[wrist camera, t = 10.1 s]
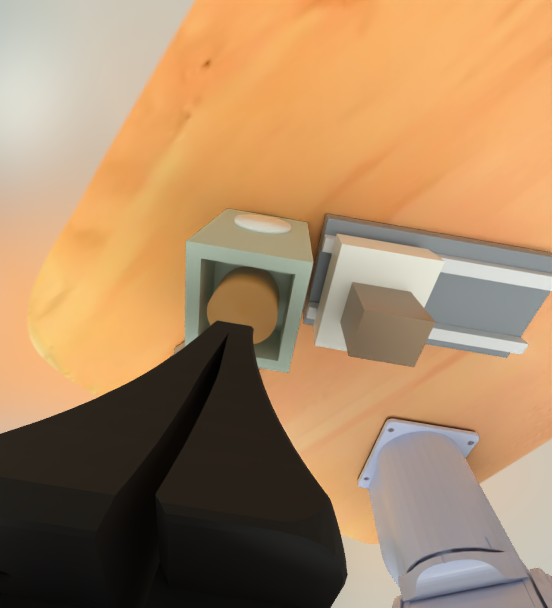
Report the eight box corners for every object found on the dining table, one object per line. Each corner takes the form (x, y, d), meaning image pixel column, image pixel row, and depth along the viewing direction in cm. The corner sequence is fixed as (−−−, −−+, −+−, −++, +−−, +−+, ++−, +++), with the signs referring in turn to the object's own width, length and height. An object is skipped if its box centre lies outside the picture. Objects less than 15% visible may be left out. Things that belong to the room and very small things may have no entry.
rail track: (493, 344, 21) (514, 365, 19) (303, 312, 21) (303, 329, 19) (550, 252, 18) (583, 265, 16) (326, 213, 18) (329, 221, 16)
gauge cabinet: (291, 301, 21) (288, 372, 14) (221, 289, 21) (184, 355, 14) (307, 218, 18) (314, 258, 11) (227, 204, 18) (185, 236, 11)
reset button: (274, 326, 15) (271, 350, 13) (216, 317, 15) (205, 339, 13) (284, 272, 14) (282, 290, 12) (220, 261, 13) (208, 278, 12)
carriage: (390, 340, 18) (420, 399, 14) (313, 327, 18) (318, 382, 14) (428, 249, 16) (479, 287, 11) (337, 233, 16) (352, 265, 11)
